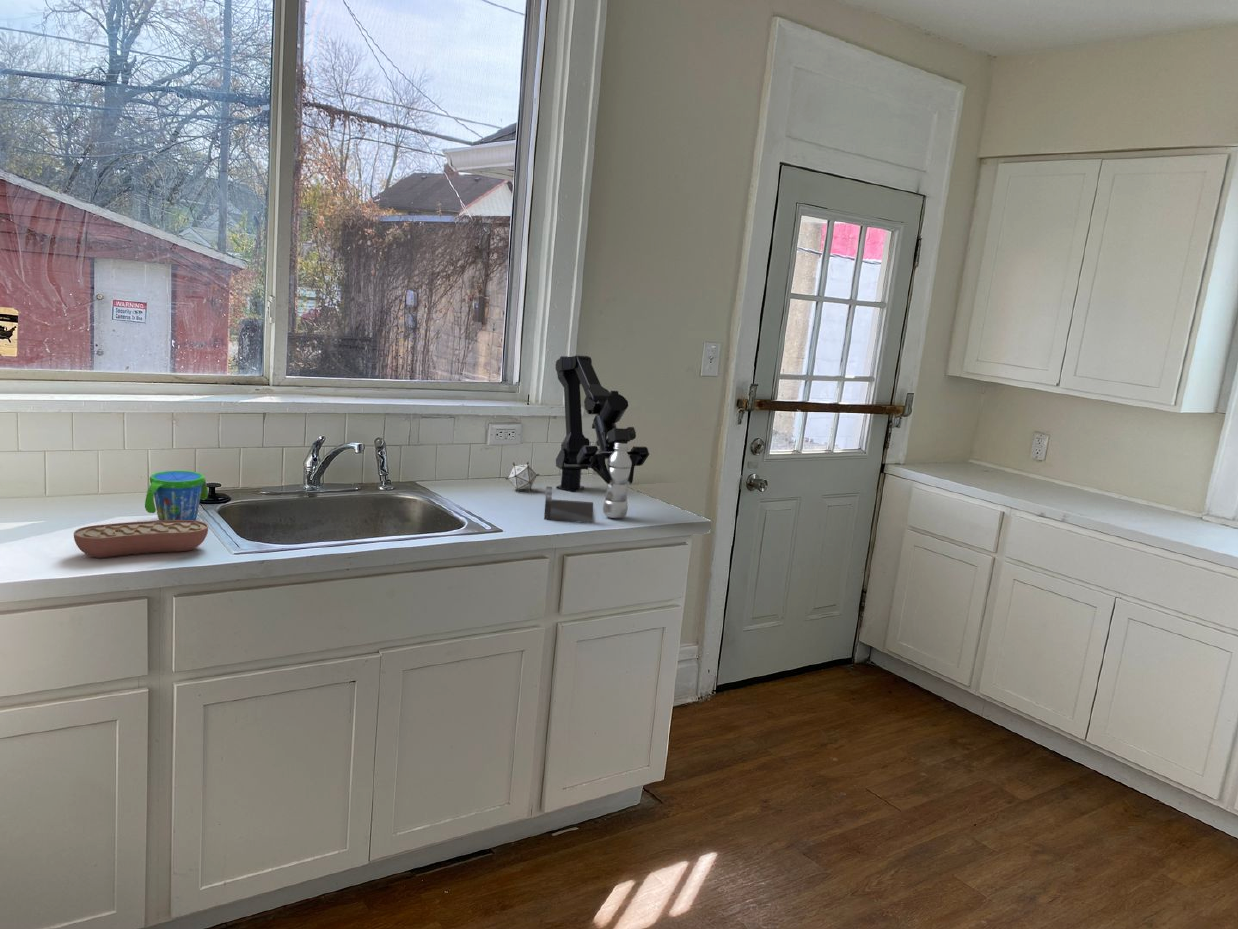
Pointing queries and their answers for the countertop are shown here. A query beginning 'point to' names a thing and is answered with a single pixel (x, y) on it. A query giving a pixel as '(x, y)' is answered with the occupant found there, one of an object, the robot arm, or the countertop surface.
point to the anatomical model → (140, 537)
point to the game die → (522, 476)
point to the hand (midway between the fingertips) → (620, 483)
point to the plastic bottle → (617, 481)
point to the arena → (567, 509)
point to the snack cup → (176, 494)
